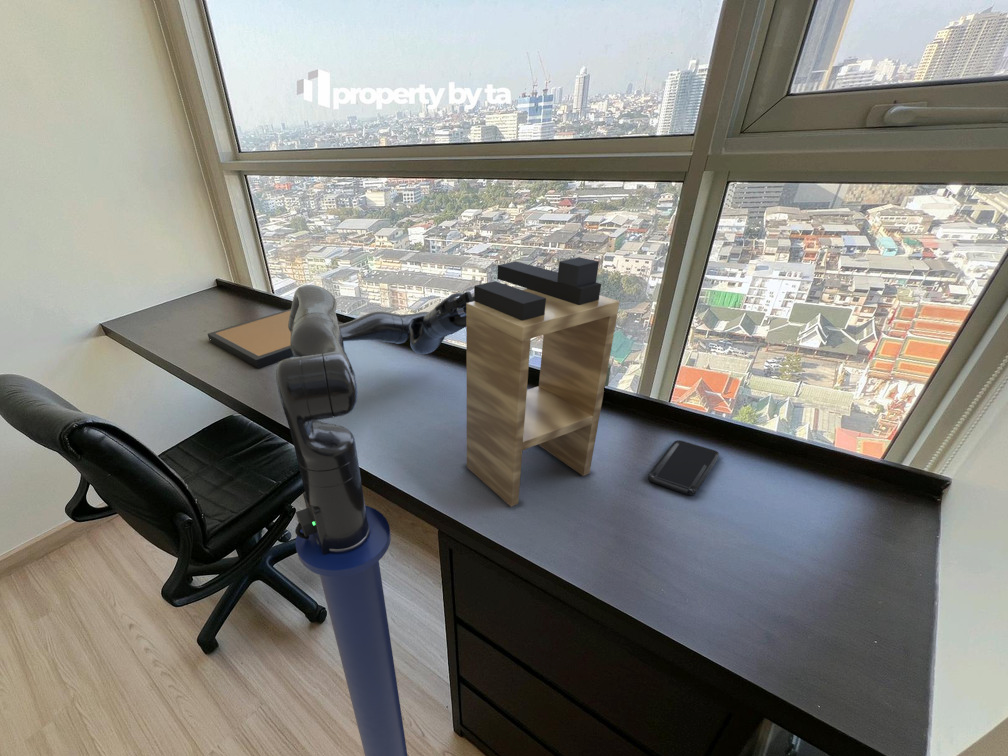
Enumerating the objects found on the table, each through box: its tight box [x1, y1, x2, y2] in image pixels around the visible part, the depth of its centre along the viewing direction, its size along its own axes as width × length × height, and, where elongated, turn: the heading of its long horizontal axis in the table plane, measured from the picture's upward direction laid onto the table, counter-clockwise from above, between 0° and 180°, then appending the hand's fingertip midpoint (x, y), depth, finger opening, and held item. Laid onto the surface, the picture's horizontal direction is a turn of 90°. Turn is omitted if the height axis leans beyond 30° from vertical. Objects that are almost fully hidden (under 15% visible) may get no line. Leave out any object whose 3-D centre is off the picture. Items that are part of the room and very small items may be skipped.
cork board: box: [207, 308, 345, 370], centre depth 161 cm, size 36×3×35 cm
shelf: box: [465, 288, 620, 507], centre depth 82 cm, size 18×14×32 cm
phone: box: [648, 439, 720, 496], centre depth 88 cm, size 8×1×15 cm
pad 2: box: [497, 256, 602, 305], centre depth 78 cm, size 4×20×5 cm, turn 28°
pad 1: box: [473, 280, 546, 321], centre depth 72 cm, size 4×12×2 cm, turn 27°
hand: (488, 292), depth 93 cm, fingers open, 8 cm apart
